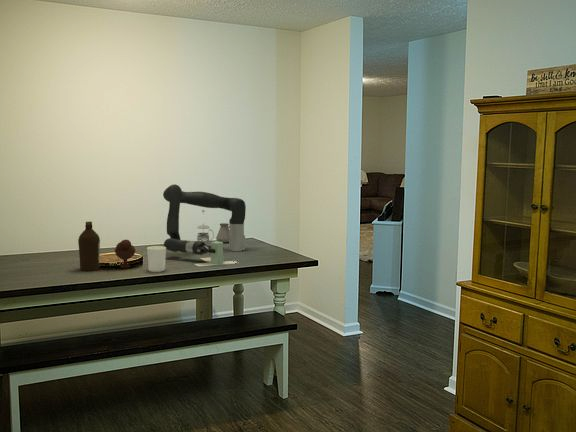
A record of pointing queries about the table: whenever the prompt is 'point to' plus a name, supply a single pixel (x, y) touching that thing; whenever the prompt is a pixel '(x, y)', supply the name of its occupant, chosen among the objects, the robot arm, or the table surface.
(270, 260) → the table surface
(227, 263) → the T mat
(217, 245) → the green block
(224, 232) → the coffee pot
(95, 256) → the olive oil
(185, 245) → the robot arm
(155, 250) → the candle holder
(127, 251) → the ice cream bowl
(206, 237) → the french press
